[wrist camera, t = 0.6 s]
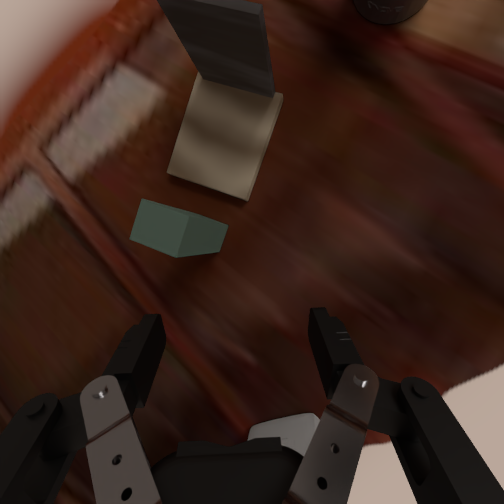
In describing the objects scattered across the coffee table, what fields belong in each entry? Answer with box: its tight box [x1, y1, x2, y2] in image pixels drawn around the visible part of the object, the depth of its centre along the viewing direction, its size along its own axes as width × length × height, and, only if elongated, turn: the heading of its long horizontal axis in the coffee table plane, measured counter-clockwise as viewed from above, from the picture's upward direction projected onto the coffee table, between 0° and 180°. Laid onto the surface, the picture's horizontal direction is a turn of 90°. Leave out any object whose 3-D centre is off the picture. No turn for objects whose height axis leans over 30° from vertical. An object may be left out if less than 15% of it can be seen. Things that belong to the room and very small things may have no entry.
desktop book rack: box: [157, 0, 283, 201], centre depth 28 cm, size 14×12×14 cm
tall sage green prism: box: [130, 199, 229, 258], centre depth 30 cm, size 4×5×13 cm
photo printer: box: [247, 413, 320, 456], centre depth 29 cm, size 10×4×12 cm, turn 109°
